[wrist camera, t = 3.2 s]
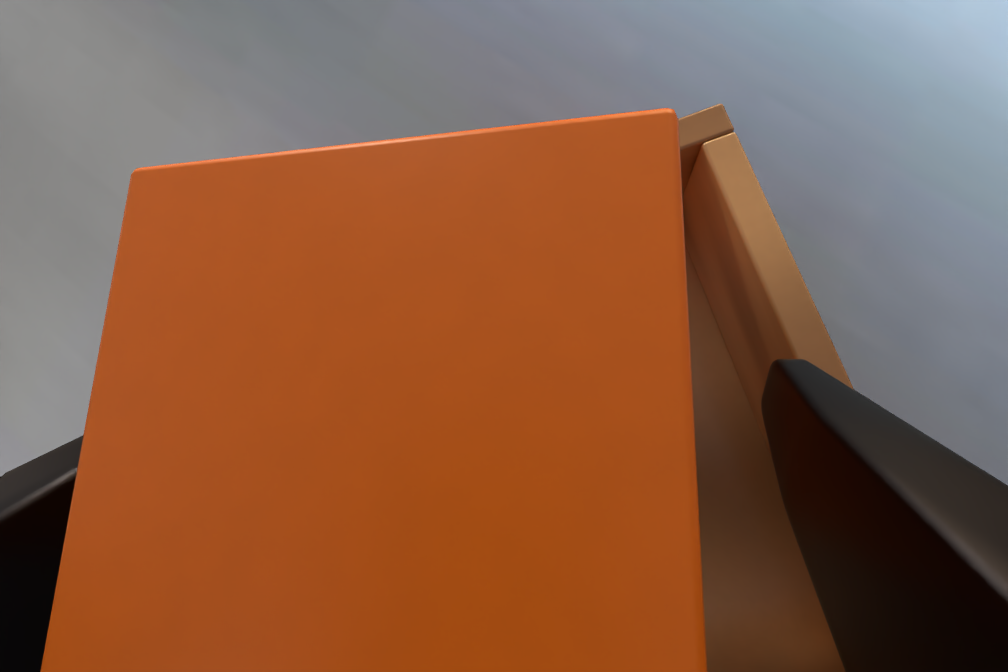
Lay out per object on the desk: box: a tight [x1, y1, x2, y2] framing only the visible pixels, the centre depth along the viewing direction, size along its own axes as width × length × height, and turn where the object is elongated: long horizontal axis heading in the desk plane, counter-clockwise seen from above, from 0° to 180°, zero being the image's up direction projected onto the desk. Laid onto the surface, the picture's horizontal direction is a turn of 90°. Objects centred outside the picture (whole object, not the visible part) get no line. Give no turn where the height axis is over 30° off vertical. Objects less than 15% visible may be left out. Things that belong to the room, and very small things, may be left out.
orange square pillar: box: [40, 108, 707, 672], centre depth 9 cm, size 5×5×11 cm
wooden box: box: [678, 104, 853, 672], centre depth 12 cm, size 15×15×5 cm
